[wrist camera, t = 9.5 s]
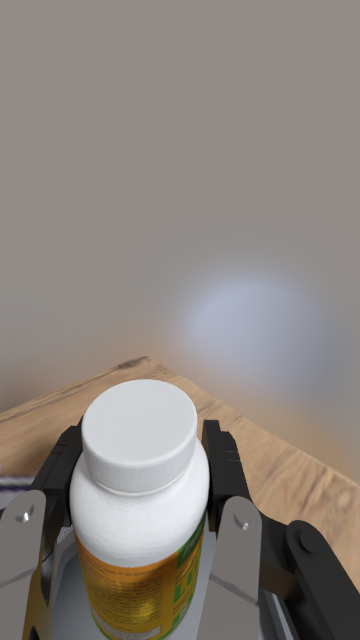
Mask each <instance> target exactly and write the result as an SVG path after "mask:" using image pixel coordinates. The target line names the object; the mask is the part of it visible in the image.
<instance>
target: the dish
mask: <svg viewBox="0 0 360 640" xmlns="http://www.w3.org/2000/svg"><path fill="white" fill-rule="evenodd" d="M216 543H217V541H216V533H215V532H209V527H208V516H207V513H206V520H205V527H204V535H203V542H202V549H201V557H200V564H199V572H198V579H197V584H196V588H195V593H194V596H193V600H192V602H191V605H190V607H189V610H188V612H187V614H186V616H185V618H184V620H183V621H182V623H181V624H180V626H179V627H178V628H177V630H176V631H175V632H174V633H173V634H172V635H171V636H170V637H169V638H168V639H167V640H196V637H197V633H198V628H199V623H200V618H201V613H202V609H203V604H204V599H205V594H206V589H207V585H208V580H209V576H210V572H211V567H212V562H213V557H214V553H215V548H216ZM65 565H66V566H65ZM64 567H65V568H64ZM258 604H259V637H258V640H293V637H292V635H291V632H290V629H289V627H288V624H287V622H286V619H285V617H284V614H283V612H282V609H281V607H280V604H279V602H278V599H277V597H276V595H275V594H273V593H271V592H269V591H267V590H265V589H263V588H261V587H259V586H258ZM52 623H53V640H106V639H105V638H104V637H103V635H102V634H101V633H100V632H99V630H98V628H97V626H96V625H95V623H94V620H93V618H92V615H91V612H90V608H89V604H88V600H87V595H86V589H85V583H84V579H83V574H82V568H81V564H80V559H79V554H78V550H77V544H76V540H75V536H74V530H73V531H72V532H71V533H70V534H69V535H68V536H67V537H66V538H65V539H63V540H62V541H61V542H60V543H59V544H58V545H57V550H56V563H55V576H54V589H53V602H52Z"/></svg>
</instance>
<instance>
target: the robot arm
mask: <svg viewBox="0 0 360 640" xmlns="http://www.w3.org/2000/svg"><path fill="white" fill-rule="evenodd" d="M83 417H84V415H83V416H82V418H81V419H80V421H79V423H78V425H77V426H70V427H69V428H68V429H67V430H66V431H65V432H63V433H62V434H61V436H60V438H59V439H58V441H57V443H56V445H55V446H54V448H53V449H52V451H51V453H50V455H49V456H48V458H47V459H46V461H45V463H44V464H43V466H42V468H41V469H40V471H39V473H38V474H37V476H36V477H35V479H34V481H33V482H32V484H31V486H30V487H29V489H28V490H27V492H24V493H23V494H21V495H19V496H18V497H16V498H15V499H14V500H13V501H12V502H11V503H10V504H9V505H8V506H7V507H6V508H4V509H1V510H0V640H53V623H52V602H53V589H54V576H55V563H56V550H57V537H58V535H59V533H60V530H61V528H62V527H71V525H72V520H71V512H70V496H69V494H70V484H71V479H72V475H73V472H74V469H75V466H76V464H77V461H78V459H79V457H80V455H81V454H82V452H83V442H82V432H81V426H82V420H83ZM201 444H202V446H203V448H204V451H205V453H206V456H207V459H208V464H209V470H210V490H209V499H208V506H207V516H208V527H209V532H215V533H216V541H217V543H216V548H215V553H214V557H213V562H212V567H211V572H210V576H209V580H208V585H207V589H206V594H205V599H204V604H203V609H202V613H201V618H200V623H199V628H198V633H197V637H196V640H258V637H259V604H258V586H259V587H261V588H263V589H265V590H267V591H269V592H271V593H273V594H275V595H276V597H277V599H278V602H279V604H280V607H281V609H282V612H283V614H284V617H285V619H286V622H287V624H288V627H289V629H290V632H291V635H292V637H293V640H360V594H359V592H358V590H357V589H356V587H355V586H354V584H353V582H352V581H351V579H350V578H349V576H348V575H347V573H346V571H345V570H344V568H343V567H342V565H341V563H340V562H339V560H338V559H337V557H336V555H335V554H334V552H333V551H332V549H331V548H330V546H329V544H328V543H327V541H326V540H325V538H324V537H323V535H322V534H321V533H320V532H319V531H318V530H317V529H316V528H315V527H313V526H312V525H311V524H309V523H307V522H305V521H301V520H295V521H292V522H291V523H290V524H289V525H285V524H283V523H280V522H278V521H275V520H273V519H271V518H269V517H267V516H265V515H264V514H263V513H261V512H260V511H259V510H258V509H257V507H256V506H255V505H254V503H253V502H252V499H251V497H250V494H249V490H248V487H247V483H246V479H245V475H244V472H243V468H242V464H241V462H240V457H239V453H238V449H237V445H236V442H235V440H234V438H233V437H232V435H231V434H230V433H229V432H225V431H221V430H220V425H219V421H218V420H204V422H203V431H202V441H201Z"/></svg>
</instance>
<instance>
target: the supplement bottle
mask: <svg viewBox="0 0 360 640" xmlns="http://www.w3.org/2000/svg"><path fill="white" fill-rule="evenodd" d="M81 432H82V442H83V452H82V454H81V455H80V457H79V459H78V461H77V464H76V466H75V469H74V472H73V475H72V479H71V484H70V494H69V496H70V512H71V520H72V525H73V530H74V536H75V540H76V544H77V550H78V554H79V559H80V564H81V568H82V574H83V579H84V583H85V589H86V595H87V600H88V604H89V608H90V612H91V615H92V618H93V620H94V623H95V625H96V626H97V628H98V630H99V632H100V633H101V634H102V635H103V637H104V638H105V639H106V640H167V639H168V638H169V637H170V636H171V635H172V634H173V633H174V632H175V631H176V630H177V628H178V627H179V626H180V624H181V623H182V621H183V620H184V618H185V616H186V614H187V612H188V610H189V607H190V605H191V602H192V600H193V596H194V593H195V588H196V584H197V579H198V572H199V564H200V557H201V549H202V542H203V535H204V527H205V520H206V513H207V506H208V499H209V490H210V470H209V464H208V459H207V456H206V453H205V451H204V448H203V446H202V444H201V443H200V441H199V440H198V438H197V437H196V433H197V413H196V409H195V406H194V404H193V402H192V400H191V399H190V398H189V397H188V395H187V394H186V393H184V392H183V391H182V390H181V389H179V388H178V387H176V386H174V385H172V384H169V383H166V382H163V381H158V380H148V379H144V380H133V381H128V382H124V383H121V384H118V385H116V386H113V387H111V388H109V389H108V390H106V391H105V392H103V393H101V394H100V395H99V396H98V397H97V398H96V399H95V400H94V401H93V402H92V403H91V404H90V406H89V407H88V408H87V410H86V412H85V414H84V417H83V420H82V426H81Z"/></svg>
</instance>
